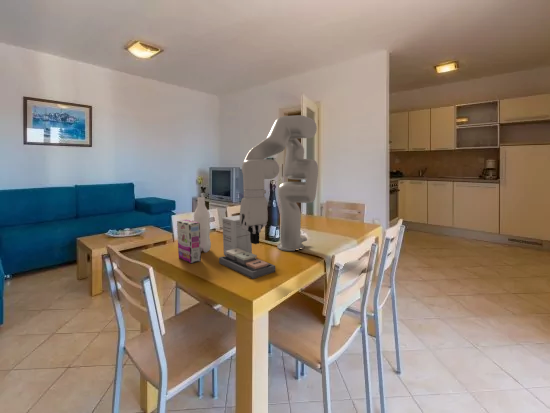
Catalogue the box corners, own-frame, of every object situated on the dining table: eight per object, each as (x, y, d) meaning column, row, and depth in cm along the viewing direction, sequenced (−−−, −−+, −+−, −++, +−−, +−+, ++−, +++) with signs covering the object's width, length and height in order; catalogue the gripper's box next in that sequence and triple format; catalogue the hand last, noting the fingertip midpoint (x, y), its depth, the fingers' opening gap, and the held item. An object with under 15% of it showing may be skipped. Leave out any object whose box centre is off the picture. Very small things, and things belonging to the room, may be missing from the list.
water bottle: (207, 253, 136) (205, 198, 132) (192, 253, 137) (189, 198, 134) (213, 249, 143) (211, 196, 139) (199, 248, 144) (197, 196, 141)
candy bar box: (201, 261, 126) (200, 222, 124) (191, 264, 123) (189, 224, 120) (188, 255, 134) (186, 219, 132) (178, 257, 130) (176, 220, 128)
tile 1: (237, 254, 127) (237, 247, 127) (246, 257, 123) (246, 250, 122) (225, 257, 123) (225, 250, 123) (233, 260, 119) (233, 253, 118)
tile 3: (258, 265, 117) (258, 258, 117) (268, 269, 113) (268, 262, 112) (245, 269, 113) (245, 262, 113) (255, 273, 109) (255, 266, 108)
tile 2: (247, 258, 122) (247, 251, 122) (256, 261, 118) (256, 254, 117) (235, 261, 118) (235, 254, 118) (244, 265, 114) (244, 257, 113)
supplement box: (240, 250, 141) (239, 214, 139) (252, 254, 135) (252, 217, 132) (222, 254, 135) (221, 217, 132) (235, 259, 128) (234, 220, 126)
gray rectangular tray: (240, 257, 130) (240, 252, 130) (275, 271, 113) (275, 265, 113) (219, 263, 123) (219, 257, 123) (252, 279, 106) (252, 272, 106)
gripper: (263, 191, 117) (263, 237, 120) (231, 195, 107) (232, 245, 110) (276, 193, 112) (276, 241, 115) (243, 196, 102) (244, 249, 105)
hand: (254, 243), depth 112 cm, fingers closed
